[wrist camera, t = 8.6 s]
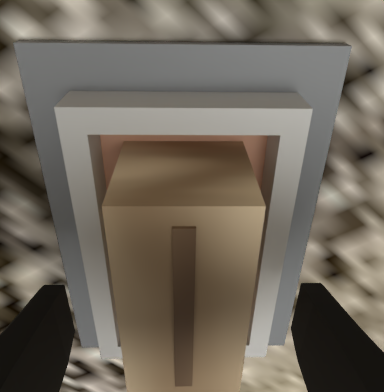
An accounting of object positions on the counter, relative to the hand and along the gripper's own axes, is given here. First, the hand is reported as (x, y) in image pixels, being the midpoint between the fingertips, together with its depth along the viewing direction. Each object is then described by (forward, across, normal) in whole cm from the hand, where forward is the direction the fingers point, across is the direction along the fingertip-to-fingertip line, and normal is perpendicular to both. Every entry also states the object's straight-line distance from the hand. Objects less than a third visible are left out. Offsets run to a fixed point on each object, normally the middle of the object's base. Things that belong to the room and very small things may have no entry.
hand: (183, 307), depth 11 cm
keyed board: (+4, 0, 0) cm, 4 cm away
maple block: (+4, 0, 0) cm, 4 cm away
